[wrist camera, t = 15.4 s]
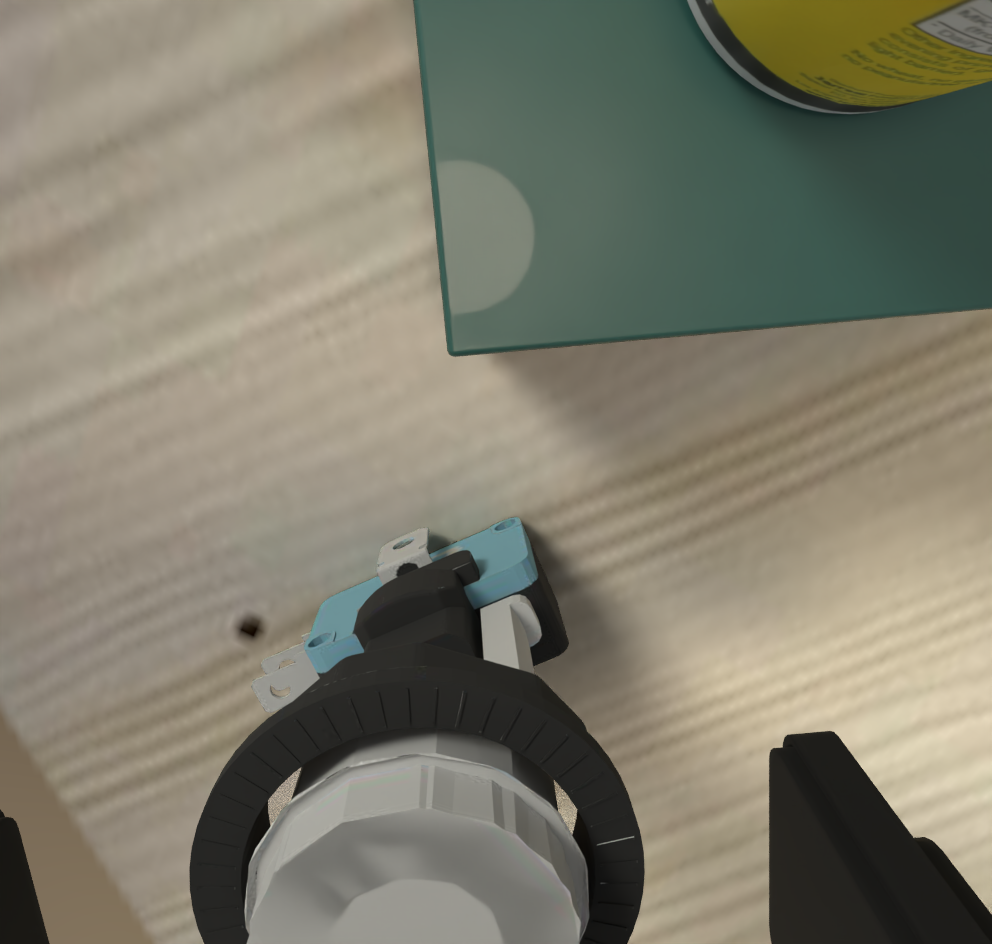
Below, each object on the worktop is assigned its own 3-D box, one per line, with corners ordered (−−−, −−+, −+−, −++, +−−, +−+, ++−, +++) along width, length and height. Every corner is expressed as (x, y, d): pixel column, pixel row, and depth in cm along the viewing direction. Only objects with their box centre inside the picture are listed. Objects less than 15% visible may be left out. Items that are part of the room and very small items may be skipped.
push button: (325, 757, 20) (201, 1247, 10) (214, 557, 18) (-53, 902, 9) (593, 644, 19) (731, 1043, 10) (498, 433, 18) (550, 649, 8)
